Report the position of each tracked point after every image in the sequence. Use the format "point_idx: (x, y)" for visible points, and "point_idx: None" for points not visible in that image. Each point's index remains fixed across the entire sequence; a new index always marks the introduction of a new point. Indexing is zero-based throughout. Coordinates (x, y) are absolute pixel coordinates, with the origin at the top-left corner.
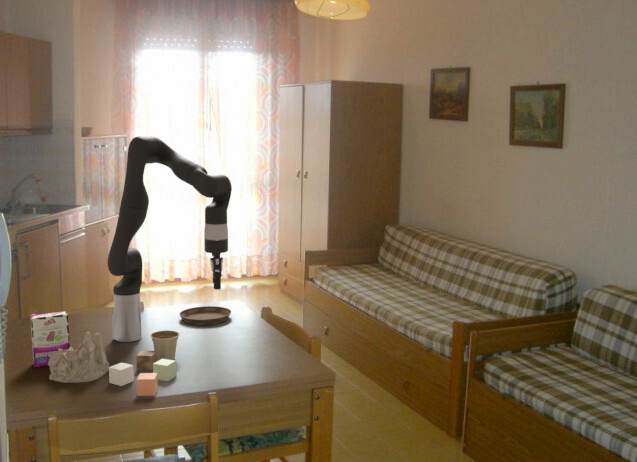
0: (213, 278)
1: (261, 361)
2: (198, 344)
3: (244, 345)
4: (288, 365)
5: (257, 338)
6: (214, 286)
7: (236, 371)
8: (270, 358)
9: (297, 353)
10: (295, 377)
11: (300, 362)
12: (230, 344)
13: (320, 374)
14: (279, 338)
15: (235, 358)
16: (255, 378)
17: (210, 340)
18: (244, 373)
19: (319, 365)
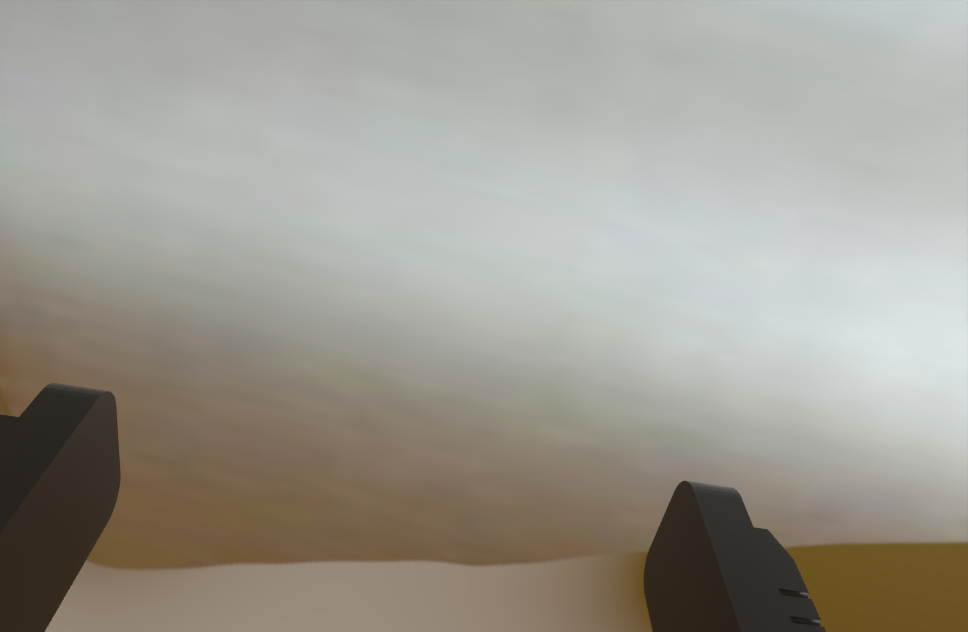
0: (707, 571)
1: (342, 337)
2: (906, 14)
3: (693, 325)
4: (235, 444)
5: (787, 427)
6: (24, 429)
7: (184, 146)
8: (381, 395)
9: (420, 531)
10: None
11: (270, 504)
12: (763, 247)
13: None
14: None
15: (452, 205)
16: (34, 226)
17: (943, 133)
18: (136, 186)
19: (204, 561)
